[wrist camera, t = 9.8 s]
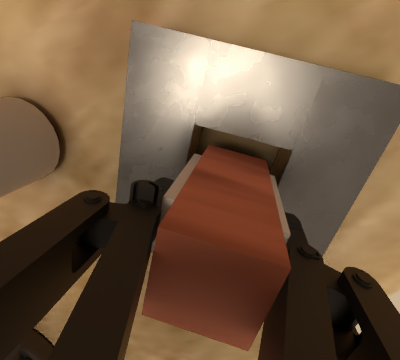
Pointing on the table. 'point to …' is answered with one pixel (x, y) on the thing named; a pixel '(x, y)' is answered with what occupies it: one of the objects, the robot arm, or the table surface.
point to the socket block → (255, 120)
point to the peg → (219, 251)
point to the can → (24, 144)
